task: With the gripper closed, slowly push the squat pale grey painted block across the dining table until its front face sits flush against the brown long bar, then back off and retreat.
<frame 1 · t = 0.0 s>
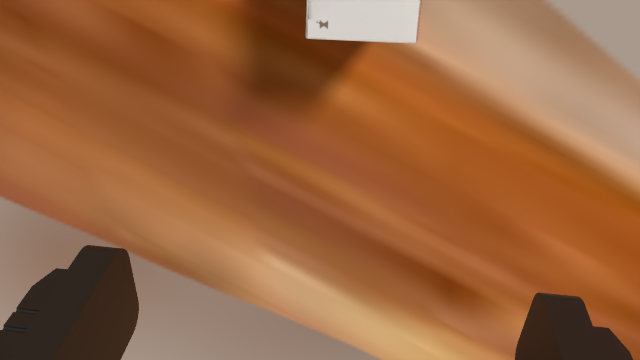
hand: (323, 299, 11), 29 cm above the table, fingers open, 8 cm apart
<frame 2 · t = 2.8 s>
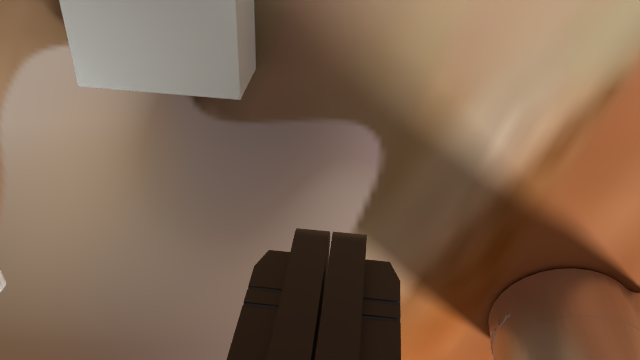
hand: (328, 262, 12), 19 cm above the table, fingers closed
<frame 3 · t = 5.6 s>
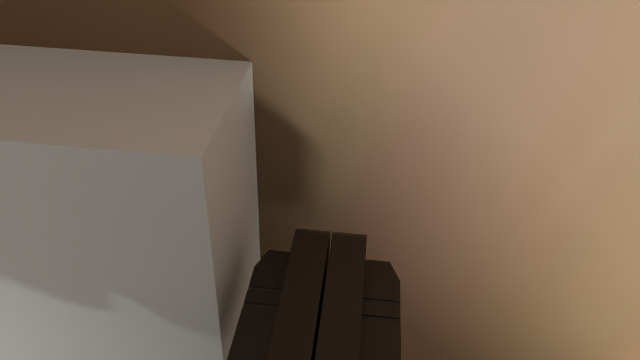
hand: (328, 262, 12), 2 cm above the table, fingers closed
block: (105, 194, 14), on the table, touching gripper
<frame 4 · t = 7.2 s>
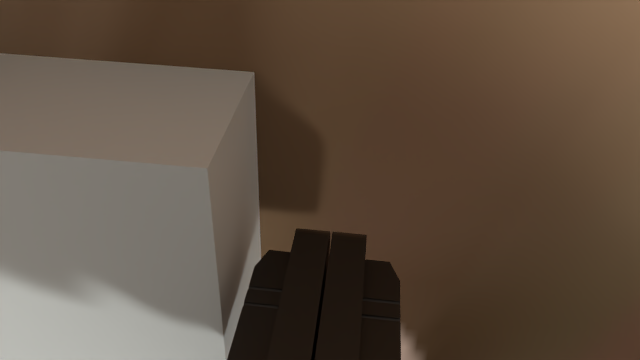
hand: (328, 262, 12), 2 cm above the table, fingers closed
block: (108, 200, 15), on the table, touching brown long bar, gripper
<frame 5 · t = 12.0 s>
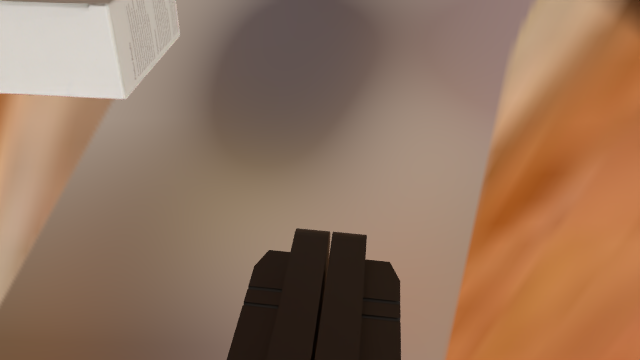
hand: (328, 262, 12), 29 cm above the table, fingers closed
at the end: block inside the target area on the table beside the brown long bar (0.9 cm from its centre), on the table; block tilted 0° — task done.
